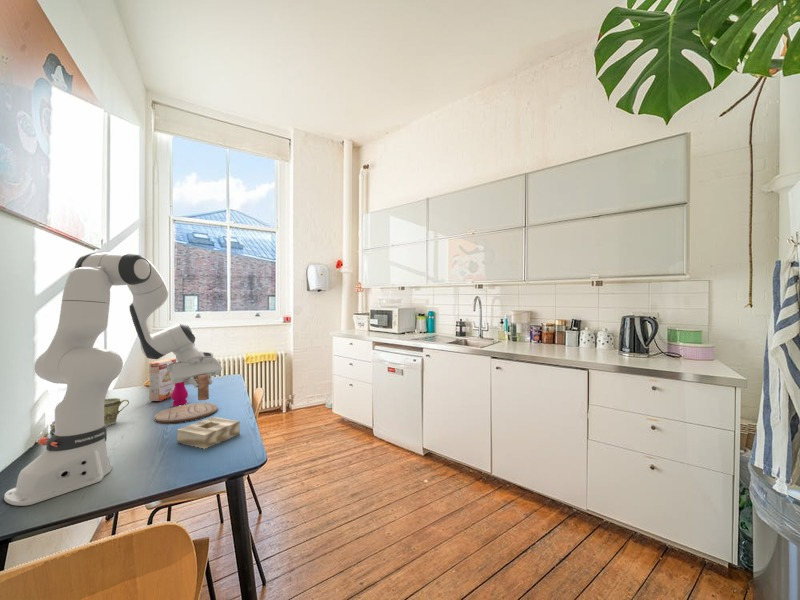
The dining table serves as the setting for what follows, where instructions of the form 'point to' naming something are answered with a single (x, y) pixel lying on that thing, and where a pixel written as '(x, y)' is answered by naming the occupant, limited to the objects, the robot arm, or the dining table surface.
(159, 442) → the dining table surface
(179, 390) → the pepper mill
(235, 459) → the dining table surface
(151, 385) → the cracker box
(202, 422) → the socket block
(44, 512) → the dining table surface
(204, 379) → the peg
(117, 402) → the ceramic cup
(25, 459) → the dining table surface
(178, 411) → the trivet
